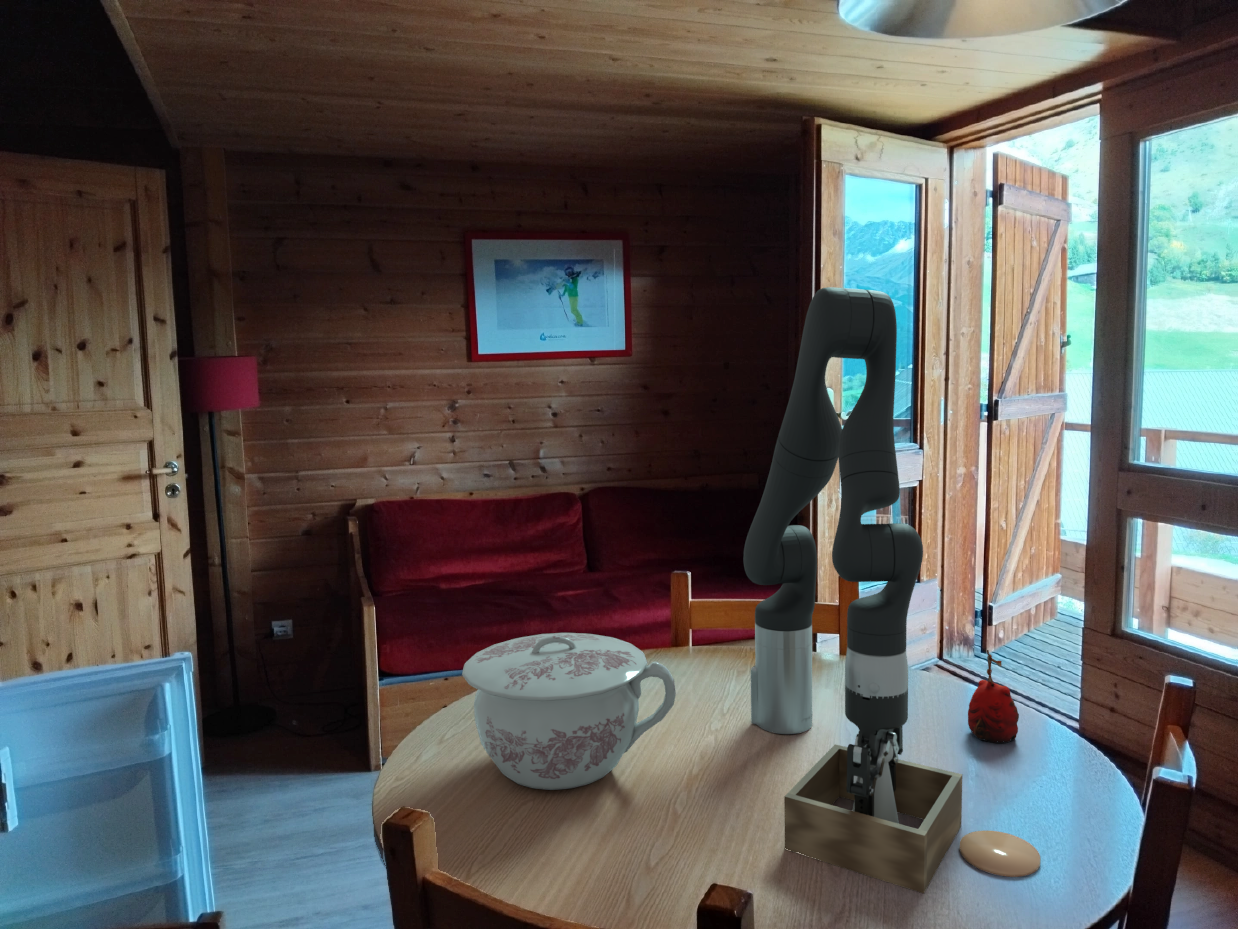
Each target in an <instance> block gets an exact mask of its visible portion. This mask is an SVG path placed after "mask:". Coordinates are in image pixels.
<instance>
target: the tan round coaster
mask: <svg viewBox="0 0 1238 929" xmlns="http://www.w3.org/2000/svg"><path fill="white" fill-rule="evenodd" d="M959 852H960V855H961V856H962V858H963V859H964V860H965V861H966V862H967V863H969V864H970V865H971V866H973V867H975V868H976V869H978V870H981V871H983V872H986V873H989V874H992V875H995V876H1000V877H1008V878H1009V877H1010V878H1019V877H1025V876H1030V875H1032V874H1034V873H1036V872H1038V870H1039V869H1040V867H1041V855H1040V852H1039V850H1038V849H1037V848H1036V847H1035V846H1034V845H1033V844H1032V843H1030V842H1028V841H1027V840H1025V839H1023V838H1022V837H1019V836H1016V835H1014V834H1010V833H1007V832H1004V831H997V830H977V831H972V832H969V833H966V834H965V835H963V836H962V838H960V841H959Z"/></svg>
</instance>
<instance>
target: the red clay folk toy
mask: <svg viewBox="0 0 1238 929" xmlns="http://www.w3.org/2000/svg"><path fill="white" fill-rule="evenodd" d="M986 654H987V657H986V659H987V667H988V668H987V670H986V674H987V675H988V678H987V680H986V679H981V680H979V681H978V683H977V684H978V686H977V688H975V690H974V692H973V693H972V695H971V698H970V701H969V704H968V710H967V725H968V728H969V730H970V731H971V733H972V735H974V736H975V737H976V738H977V739H979V740H981V741H984V742H989V743H995V744H996V743H1000V744H1003V743H1010V742H1011V741H1014V740H1015V739H1016V738H1017V735H1018V732H1019V726H1018V722H1019V719H1020V714H1019V712H1018V707H1017V706H1016V704H1015V701H1014V700H1013V698H1012V695H1011V689H1010V688H1009V687H1008V686H1007V685H1001V684H998V683H995V682H994V681H993V678H992V672H993V669H992V663H995V664H996V665H997V666H998V667H1002V665H1003V664H1002V661H1001V660H996V659H994V658H993V656H992V654H991V653H990V651H989V649H986Z"/></svg>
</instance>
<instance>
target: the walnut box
mask: <svg viewBox="0 0 1238 929" xmlns="http://www.w3.org/2000/svg"><path fill="white" fill-rule="evenodd" d="M847 747H848V746H844V745H840V744H837V743H835V744H833V745H832V747H831V748H830V749H828V751H827V752H826V753H825V754H824V755H823V756H821V758H820V759H819V760H818V761H817V762H816V763H815V764H814V765H813V767H812V768H810V769H809V770H808V771H807V773H805V774H804V776H803V777H802V778H801V779H799V781H798V782H797V783H795V784H794V786H793V787H792V788H791V789H790V790H789V791H788V792H787V793H786V794H784V797H783V798H784V803H783V804H784V807H783V808H784V809H783V810H784V811H783V812H784V813H783V814H784V849H785V848H786V849H788V850H791V851H794V852H799V853H801V854H804V855H806V856H805V857H807V856H809V857H808V858H810V857H813V858H816V859H819V860H821V861H820V862H823V861H824V862H823V863H826V862H827V863H826V864H829V863H830V864H829V865H832V866H836V867H838V868H841V869H844V870H845V869H846V870H849V871H851V872H854V873H857V872H858V874H860V875H861V874H862V875H864V876H868V877H870V878H873V879H876V880H880V881H883V882H886V883H889V884H891V885H895V886H899V887H902V888H905V889H909V890H911V891H914V892H918V893H921V894H925V893H926V891H927V889H928V887H929V885H930V883H931V882H932V881H933V878H934V876H935V874H936V873H937V871H938V869H939V867H940V865H941V863H942V861H943V860H944V858H945V856H946V855H947V852H948V851H949V849H950V847H951V845H952V844H953V842H954V840H955V838H956V836H957V835H958V833H959V831H960V829H961V827H962V816H963V815H962V814H963V813H962V812H963V810H962V809H963V805H962V804H963V774H962V773H958V772H954V771H950V770H946V769H941V768H938V767H937V768H936V767H932V766H929V765H925V764H920V763H916V762H912V761H907V760H904V759H899V758H898V759H899V762H898V764H897V765H896V790H895V792H894V798H895V804H896V809H897V814H898V813H899V814H901V815H906V816H910V817H912V818H913V817H914V818H917V819H921V820H923V821H922V823H921V825H920V826H919V827H918V828H916V827H911V826H909V825H904V824H902V823H899V824H898V823H894V822H891V821H887V820H883V819H880V818H876V817H873V816H869V815H865V814H862V813H858V812H855V811H852V810H851V809H847V808H843V807H840V806H836V805H834V804H835V802H836V801H837V800H838V799H839V798H843V799H847V800H850V801H853V802H854V800H855V794H852V793H847V790H846V786H847ZM788 850H787V851H788ZM791 851H790V852H791ZM794 852H793V853H794ZM801 854H800V855H801ZM804 855H803V856H804ZM813 858H812V859H813ZM816 859H815V860H816ZM819 860H818V861H819Z"/></svg>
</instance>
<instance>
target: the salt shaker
mask: <svg viewBox="0 0 1238 929" xmlns="http://www.w3.org/2000/svg"><path fill="white" fill-rule="evenodd" d="M892 758H893V747H892V744H891V743H890V747H889V752H888V755H886V757H885V762H884V767H883V772H882V776H881V777H880V778H877V780H876V785H875V792H874V817H876V818H880V819H883V820H887V821H891V822H894V823H898V824H900V822H899V815H898V812H897V809H896V804H895V798H894V792H893V786H892V781H891V775H890V769H889V764H888V762H889V761H890V760H891V759H892ZM875 767H876V766H874V765H870V768H875ZM860 783H863V779H862V778H860ZM852 805H853V806H852V810H851V811H855V800H854V801H853V804H852Z"/></svg>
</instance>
